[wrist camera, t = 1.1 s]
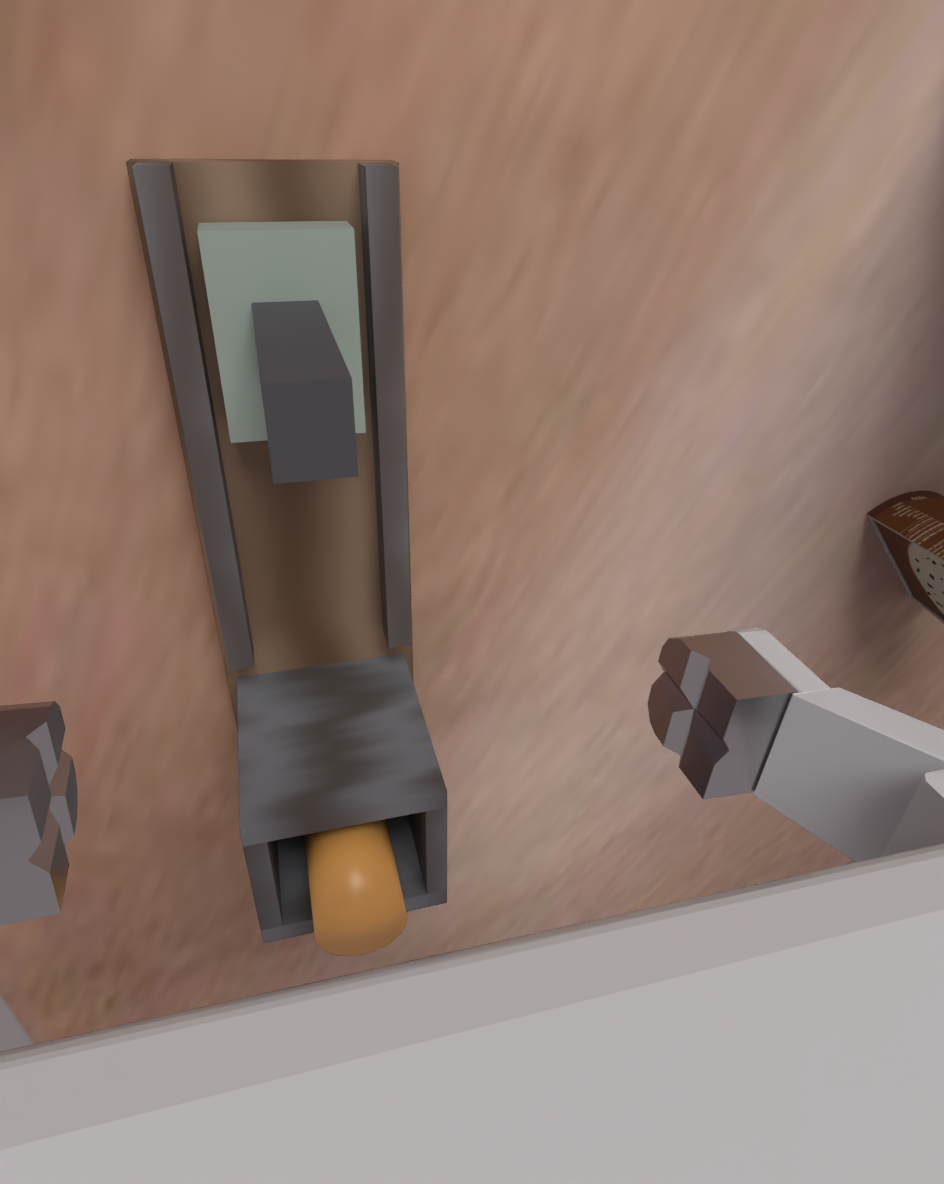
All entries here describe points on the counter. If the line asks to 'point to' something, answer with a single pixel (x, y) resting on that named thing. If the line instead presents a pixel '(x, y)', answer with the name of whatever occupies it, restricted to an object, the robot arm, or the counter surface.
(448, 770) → the counter surface
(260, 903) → the rail
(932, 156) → the counter surface
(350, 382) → the carriage
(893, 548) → the food container
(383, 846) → the button
